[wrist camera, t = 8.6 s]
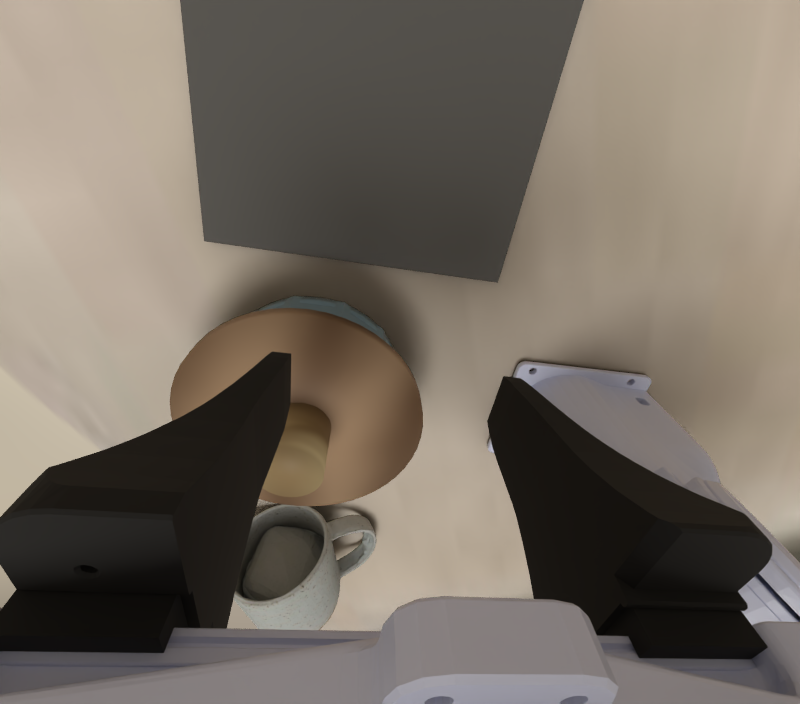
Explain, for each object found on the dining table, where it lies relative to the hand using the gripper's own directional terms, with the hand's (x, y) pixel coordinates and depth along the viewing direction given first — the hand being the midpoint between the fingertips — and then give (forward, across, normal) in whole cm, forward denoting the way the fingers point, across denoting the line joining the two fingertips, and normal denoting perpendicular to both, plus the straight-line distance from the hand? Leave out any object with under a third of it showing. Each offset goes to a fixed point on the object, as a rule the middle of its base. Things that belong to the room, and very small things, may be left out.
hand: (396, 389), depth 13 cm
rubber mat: (+10, +2, -8) cm, 13 cm away
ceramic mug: (+11, +3, +23) cm, 26 cm away
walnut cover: (+6, +4, +7) cm, 10 cm away
